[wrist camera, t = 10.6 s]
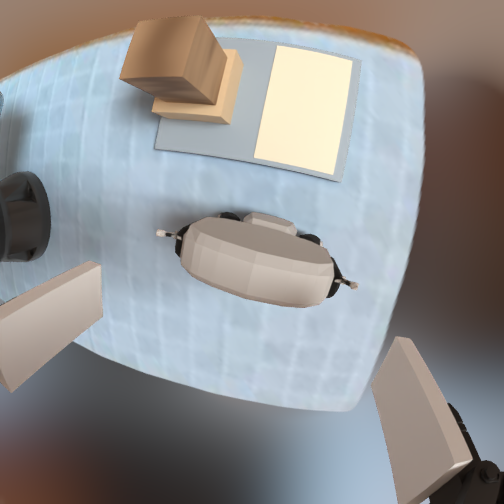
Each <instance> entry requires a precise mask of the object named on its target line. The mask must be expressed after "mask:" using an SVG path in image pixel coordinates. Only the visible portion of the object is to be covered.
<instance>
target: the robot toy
mask: <svg viewBox="0 0 504 504" xmlns="http://www.w3.org/2000/svg"><path fill="white" fill-rule="evenodd" d="M296 234H297V230H296V228H295V226H294V224H293V223H292V222H290V221H287V220H285V219H282V218H278V217H275V216H271V215H267V214H263V213H256V212H252V213H250V214H249V215H247V216H246V217H244V221H243V222H241V221H240V219H239V218H238V217H237V216H236V215H234V214H233V213H229V212H225V213H221V214H219V215H218V217H217V218H214V217H205V218H203V219H201V220H199V221H196V222H194V223H192V224H189V225H187V226H185V227H183V228H182V229H181V230H180V231H179V232H178V231H175V233H172V232H166V231H164V230H160V229H158V230H157V232H156V236H160V237H163V236H168V237H174V239H176V246H175V253H176V254H177V255H178V256H179V257H180V258H181V265H182V266H183V267H184V268H185V270H186V271H187V272H188V273H189V274H190V275H191V276H192V277H194V278H196V279H197V280H199V281H202V282H204V283H206V284H208V285H210V286H212V287H215V288H217V289H220V290H223V291H225V292H228V293H231V294H234V295H236V296H239V297H242V298H245V299H249V300H254V301H259V302H264V303H269V304H274V305H279V306H284V307H297V308H306V307H311V306H315V305H319V304H320V303H321V302H322V301H323V300H324V299H325V298H330V297H332V296H334V294H335V293H336V292H337V290H338V288H339V286H340V284H342V285H344V284H346V285H348V286H350V287H351V289H354V290H357V288H358V285H359V284H358V283H356V282H351V281H348V280H346V279H345V278H346V277H344V276H342V274H341V272H340V270H339V268H338V266H337V264H336V262H335V260H334V258H332V257H330V255H329V253H328V251H327V249H326V248H324V247H322V246H323V243H322V242H321V241H320V239H319V238H318V237H317V236H315V235H312V234H305V235H300V237H297V236H296Z"/></svg>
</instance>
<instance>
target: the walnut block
mask: <svg viewBox="0 0 504 504" xmlns="http://www.w3.org/2000/svg"><path fill="white" fill-rule="evenodd" d="M226 62H227V56H226V54H225V53H224V51H223V49H222V48H221V46H220V44H219V43H218V41H217V39H216V38H215V36H214V35H213V33H212V31H211V30H210V28H209V27H208V25H207V23H206V22H205V20H204V19H203V17H202V16H201V15H199V16H181V17H170V18H161V19H153V20H146V21H140V22H138V24H137V27H136V29H135V32H134V35H133V37H132V40H131V43H130V46H129V49H128V52H127V55H126V58H125V61H124V64H123V67H122V71H121V74H120V77H119V79H120V80H122V81H124V82H127V83H129V84H131V85H133V86H135V87H137V88H139V89H141V90H143V91H145V92H147V93H149V94H151V95H153V96H155V97H157V98H159V99H161V100H163V101H165V102H174V103H192V104H205V105H216V103H217V99H218V94H219V90H220V86H221V82H222V78H223V74H224V70H225V66H226Z"/></svg>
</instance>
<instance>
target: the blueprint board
mask: <svg viewBox="0 0 504 504" xmlns="http://www.w3.org/2000/svg"><path fill="white" fill-rule="evenodd" d="M215 38H216V39H217V41H218V43H219V44H220V46H221V48H222V49H223V51H224V53H225V54H226V56H227V62H226V66H225V70H224V74H223V78H222V82H221V86H220V90H219V94H218V99H217V103H216V105H205V104H192V103H174V102H165V101H163V100H161V99H159V98H157V97H155V99H154V103H153V107H152V112H153V113H156V114H158V115H161V119H160V124H159V129H158V134H157V139H156V144H155V149H160V150H169V151H178V152H186V153H194V154H201V155H208V156H215V157H221V158H228V159H234V160H240V161H245V162H251V163H256V164H261V165H267V166H272V167H277V168H281V169H286V170H291V171H295V172H300V173H304V174H308V175H313V176H317V177H321V178H325V179H329V180H333V181H337V182H342V178H343V173H344V168H345V163H346V158H347V153H348V148H349V143H350V137H351V132H352V126H353V120H354V114H355V108H356V101H357V94H358V87H359V80H360V72H361V63H362V60H358V59H355V58H352V57H348V56H344V55H340V54H337V53H333V52H328V51H324V50H319V49H315V48H310V47H305V46H299V45H293V44H287V43H280V42H273V41H264V40H254V39H242V38H221V37H215Z"/></svg>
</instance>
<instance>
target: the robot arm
mask: <svg viewBox="0 0 504 504" xmlns="http://www.w3.org/2000/svg"><path fill="white" fill-rule="evenodd" d="M3 102H4V99H3V95H2V93H1V92H0V115H1V111H2V107H3ZM50 229H51V216H50V207H49V202H48V197H47V194H46V191H45V188H44V186H43V184H42V182H41V181H40V179H39V178H38V177H37V176H36V175H35V174H34V173H32V172H29V171H25V172H17V173H14V174H12V175H10V176H9V177H7V178H5V179H4V180H2V181H0V262H30V261H32V260H35V259H37V258H39V257H40V256H41V255H42V254H43V253H44V252H45V250H46V248H47V245H48V242H49V237H50ZM102 317H103V308H102V287H101V264H98V263H95V262H92V261H87V262H85V263H83V264H81V265H79V266H77V267H74V268H72V269H70V270H68V271H66V272H64V273H62V274H60V275H58V276H56V277H54V278H52V279H50V280H48V281H46V282H44V283H42V284H40V285H38V286H36V287H34V288H33V289H31V290H29V291H27V292H25V293H23V294H21V295H19V296H17V297H15V298H13V299H11V300H9V301H7V302H6V303H4V304H2V305H0V383H1V384H2V385H3V386H5V388H7V389H8V390H9V391H10V392H11V393H12V392H13V391H14V390H15V389H16V388H17V387H19V386H20V385H21V384H22V383H23V382H24V381H25V380H27V379H28V378H29V377H30V376H31V375H32V374H34V373H35V372H36V371H37V370H38V369H39V368H40V367H42V366H43V365H44V364H45V363H46V362H48V361H49V360H50V359H51V358H52V357H53V356H55V355H56V354H57V353H58V352H60V351H61V350H62V349H63V348H64V347H66V346H67V345H68V344H69V343H70V342H72V341H73V340H74V339H75V338H77V337H78V336H79V335H80V334H81V333H83V332H84V331H85V330H86V329H88V328H89V327H90V326H91V325H93V324H94V323H95V322H97V321H98V320H99V319H100V318H102ZM371 388H372V391H373V395H374V398H375V402H376V405H377V409H378V413H379V417H380V421H381V425H382V429H383V433H384V437H385V441H386V445H387V450H388V454H389V459H390V463H391V468H392V473H393V478H394V483H395V489H396V495H397V500H398V504H420V503H421V502H423V501H424V500H425V499H427V498H428V497H429V499H430V503H429V504H504V472H500V470H499V468H498V467H497V465H496V464H494V463H493V462H491V461H487V460H485V461H481V459H480V457H479V455H478V453H477V451H476V448H475V446H474V444H473V442H472V440H471V437H470V435H469V433H468V432H466V431H467V429H466V427H465V425H464V424H463V421H462V419H461V417H460V415H459V413H458V412H457V410H456V409H455V408H454V407H453V406H452V405H451V404H450V403H447V402H446V400H445V398H444V397H443V395H442V393H441V391H440V389H439V387H438V385H437V384H436V382H435V380H434V378H433V376H432V375H431V373H430V371H429V369H428V368H427V366H426V364H425V362H424V361H423V359H422V357H421V355H420V354H419V352H418V350H417V349H416V347H415V345H414V344H413V342H412V341H411V339H409V338H403V337H397V336H396V337H395V339H394V341H393V344H392V346H391V348H390V350H389V352H388V354H387V356H386V358H385V360H384V362H383V363H382V365H381V367H380V369H379V371H378V373H377V375H376V377H375V378H374V380H373V382H372V384H371Z"/></svg>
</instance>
